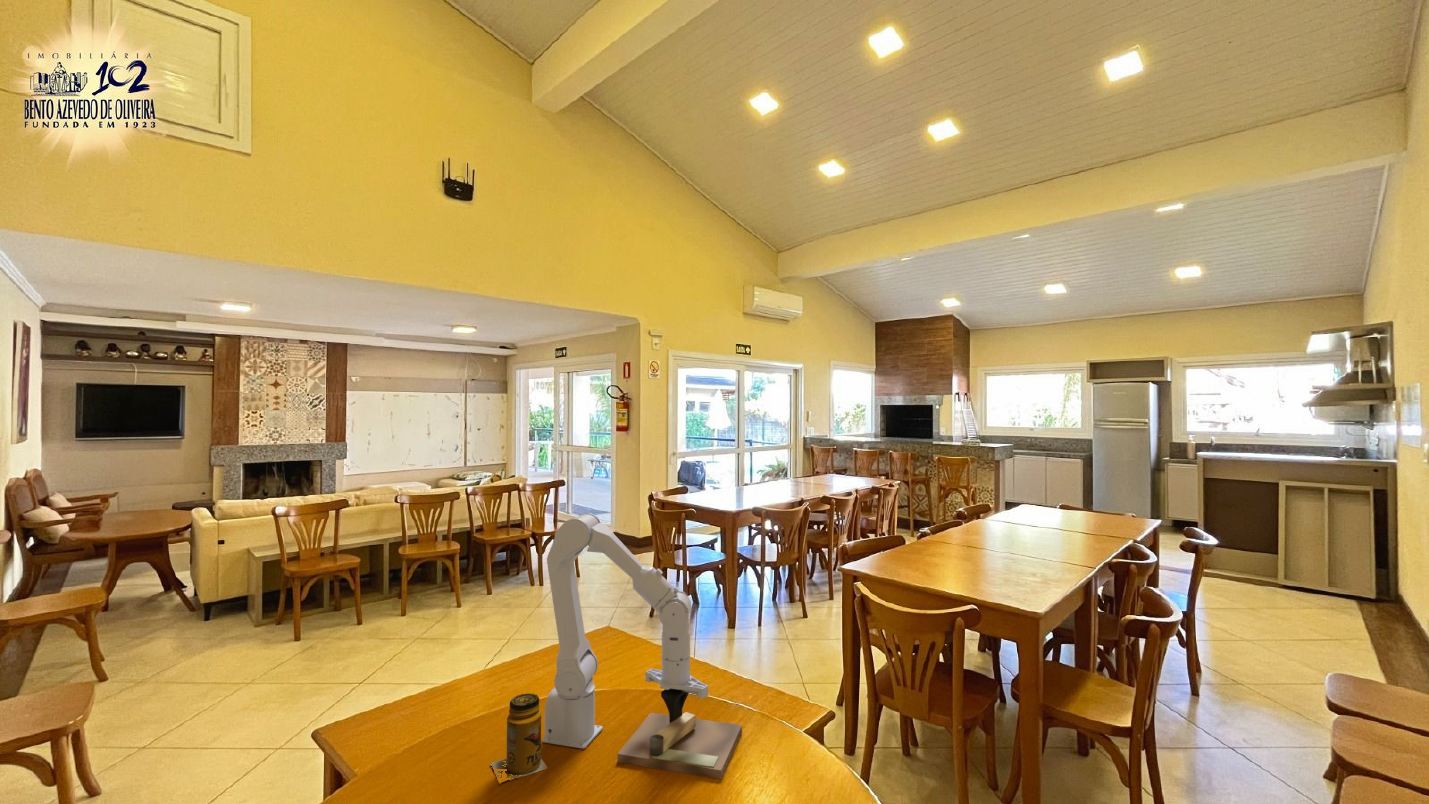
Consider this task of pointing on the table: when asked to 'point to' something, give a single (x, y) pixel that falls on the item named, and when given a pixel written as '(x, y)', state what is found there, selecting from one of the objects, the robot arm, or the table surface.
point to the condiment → (523, 738)
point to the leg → (672, 733)
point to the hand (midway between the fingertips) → (676, 725)
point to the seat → (684, 747)
